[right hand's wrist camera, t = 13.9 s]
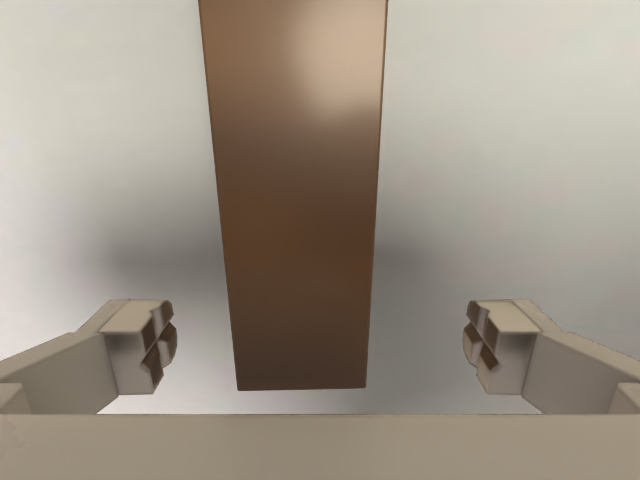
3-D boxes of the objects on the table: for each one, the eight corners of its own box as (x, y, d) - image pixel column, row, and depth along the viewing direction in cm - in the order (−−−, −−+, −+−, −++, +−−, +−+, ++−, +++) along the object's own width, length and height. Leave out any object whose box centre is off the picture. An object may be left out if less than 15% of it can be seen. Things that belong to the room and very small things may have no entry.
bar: (343, 273, 21) (366, 389, 13) (265, 274, 21) (237, 392, 13) (359, -365, 12) (464, -1323, 4) (228, -371, 12) (58, -1366, 4)
